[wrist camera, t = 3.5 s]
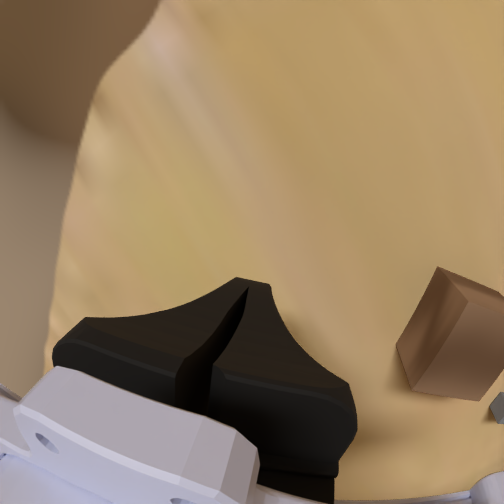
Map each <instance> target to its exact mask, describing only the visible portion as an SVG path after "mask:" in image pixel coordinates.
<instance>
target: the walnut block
mask: <svg viewBox="0 0 504 504" xmlns="http://www.w3.org/2000/svg"><path fill="white" fill-rule="evenodd" d="M396 346H397V349H398V352H399V355H400V357H401V360H402V363H403V366H404V369H405V372H406V375H407V378H408V381H409V384H410V387H411V390H412V391H417V392H422V393H428V394H433V395H439V396H445V397H451V398H458V399H465V400H472V401H480V400H481V398H482V397H483V396H484V395H485V393H486V392H487V391H488V389H489V388H490V387H491V386H492V384H493V383H494V382H495V380H496V379H497V378H498V376H499V375H500V373H501V372H502V371H503V369H504V297H503V296H502V295H501V294H500V293H499V292H497V291H495V290H493V289H491V288H488V287H486V286H484V285H481V284H479V283H477V282H474V281H472V280H469V279H467V278H465V277H462V276H460V275H457V274H455V273H453V272H450V271H448V270H445V269H443V268H440V267H438V266H437V268H436V270H435V273H434V275H433V277H432V279H431V281H430V283H429V285H428V287H427V289H426V291H425V293H424V295H423V297H422V299H421V301H420V302H419V304H418V306H417V308H416V310H415V312H414V314H413V315H412V317H411V319H410V321H409V323H408V324H407V326H406V328H405V330H404V331H403V333H402V335H401V336H400V338H399V340H398V341H397V343H396Z"/></svg>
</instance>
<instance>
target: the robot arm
mask: <svg viewBox="0 0 504 504" xmlns="http://www.w3.org/2000/svg"><path fill="white" fill-rule="evenodd" d="M52 360H53V366H54V368H53V369H51V370H50V371H49V372H47V373H46V374H45V375H44V376H43V377H42V378H41V379H40V380H39V381H38V382H37V383H36V384H35V386H34V387H33V388H32V389H31V390H30V391H29V392H28V393H27V394H26V395H25V396H24V397H23V398H21V397H20V396H18V395H17V394H15V393H14V392H12V391H11V390H10V389H8V388H7V387H5V386H4V385H3V384H1V383H0V504H504V471H500V472H496V473H492V474H489V475H487V476H485V477H483V478H482V479H480V480H479V481H478V482H477V483H476V484H475V485H474V486H473V487H472V488H471V489H470V490H467V491H462V492H456V493H450V494H444V495H437V496H429V497H420V498H409V499H395V500H334V478H336V477H337V476H338V472H339V465H338V461H339V460H340V458H341V457H342V455H343V454H344V453H345V451H346V450H347V448H348V447H349V445H350V444H351V442H352V441H353V439H354V437H355V434H356V432H357V413H356V407H355V403H354V400H353V396H352V393H351V390H350V387H349V384H348V383H347V382H345V381H344V380H342V379H341V378H339V377H337V376H336V375H334V374H333V373H331V372H330V371H328V370H327V369H325V368H324V367H323V366H321V365H320V364H319V363H318V362H316V361H315V360H314V359H313V358H312V357H311V356H309V355H308V354H307V353H306V352H305V351H304V350H303V348H302V347H301V346H300V345H299V344H298V343H297V342H296V341H295V340H294V338H293V337H292V335H291V334H290V333H289V331H288V329H287V328H286V326H285V324H284V322H283V321H282V319H281V317H280V315H279V312H278V310H277V307H276V305H275V302H274V299H273V296H272V290H271V286H270V285H269V284H267V283H262V282H257V281H252V280H248V279H243V278H238V277H236V278H234V279H232V280H230V281H229V282H227V283H226V284H224V285H222V286H221V287H219V288H217V289H216V290H214V291H212V292H210V293H208V294H206V295H204V296H202V297H200V298H198V299H196V300H194V301H191V302H189V303H186V304H184V305H181V306H178V307H175V308H172V309H168V310H164V311H159V312H155V313H150V314H145V315H138V316H129V317H115V318H97V317H85V318H84V319H83V320H81V321H80V322H79V323H78V324H77V325H76V326H75V327H74V328H72V329H71V330H70V331H69V332H68V333H67V334H66V335H65V336H64V337H63V338H62V339H60V340H59V341H58V342H57V344H56V345H55V347H54V348H53V353H52Z"/></svg>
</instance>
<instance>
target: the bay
mask: <svg viewBox="0 0 504 504" xmlns="http://www.w3.org/2000/svg"><path fill="white" fill-rule="evenodd" d="M489 407H490V409H491V411H492V413H493V415H494V417H495V419H496V421H497V423H498V424H504V393H503V392H500V394H499V395H498V396H497V397H496V399H495V400H494V401H493V402H492V404H491V405H490V406H489Z"/></svg>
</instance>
